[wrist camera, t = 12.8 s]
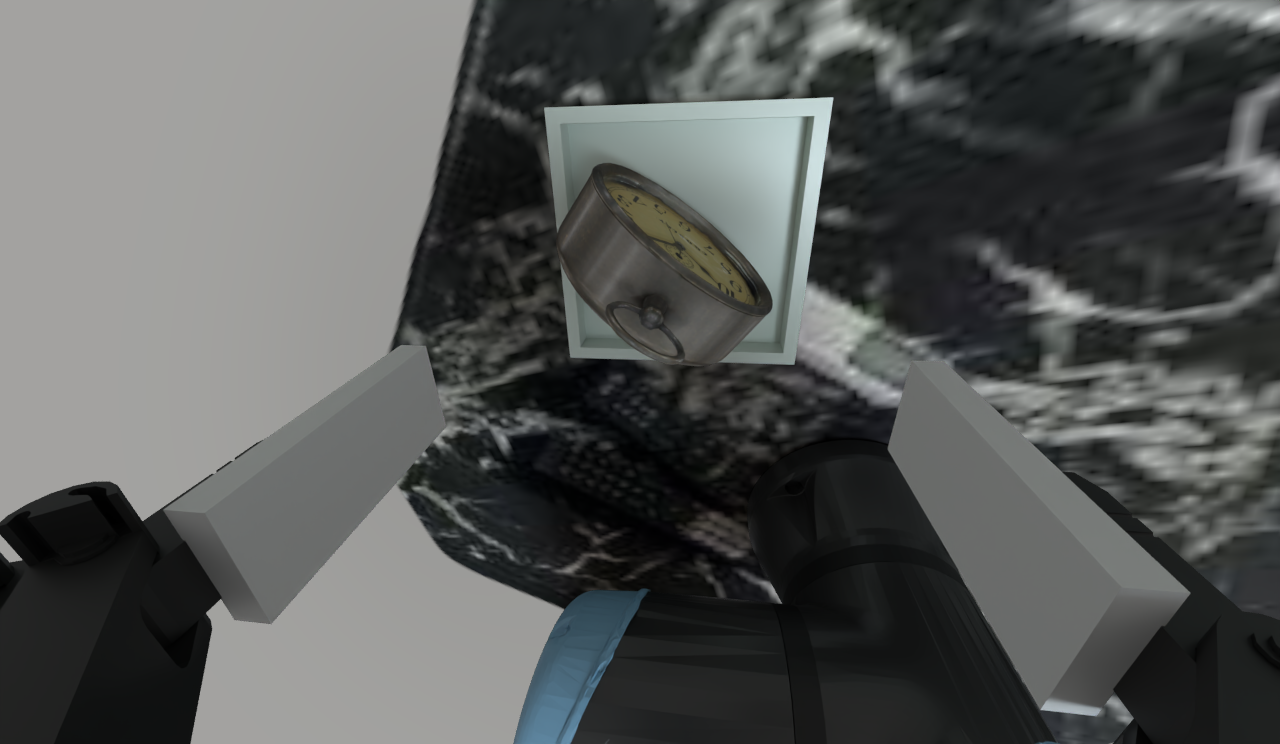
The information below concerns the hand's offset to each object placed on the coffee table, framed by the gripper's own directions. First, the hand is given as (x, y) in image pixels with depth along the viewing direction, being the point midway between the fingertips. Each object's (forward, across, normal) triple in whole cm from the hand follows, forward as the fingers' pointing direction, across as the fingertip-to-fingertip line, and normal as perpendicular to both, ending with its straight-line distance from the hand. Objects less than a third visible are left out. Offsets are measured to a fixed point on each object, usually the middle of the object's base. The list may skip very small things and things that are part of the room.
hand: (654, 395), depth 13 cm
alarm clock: (+19, +1, 0) cm, 19 cm away
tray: (+20, 0, 0) cm, 20 cm away
